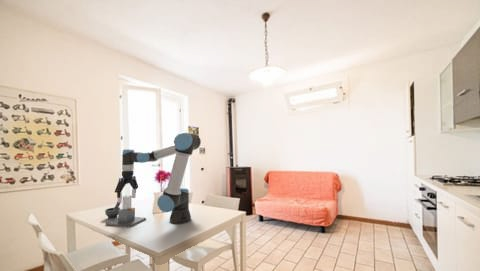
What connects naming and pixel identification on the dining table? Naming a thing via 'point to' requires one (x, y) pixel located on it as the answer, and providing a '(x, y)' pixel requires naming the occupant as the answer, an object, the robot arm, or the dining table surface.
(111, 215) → the mortar and pestle
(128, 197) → the column
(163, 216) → the dining table surface
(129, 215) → the stand
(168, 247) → the dining table surface
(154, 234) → the dining table surface
